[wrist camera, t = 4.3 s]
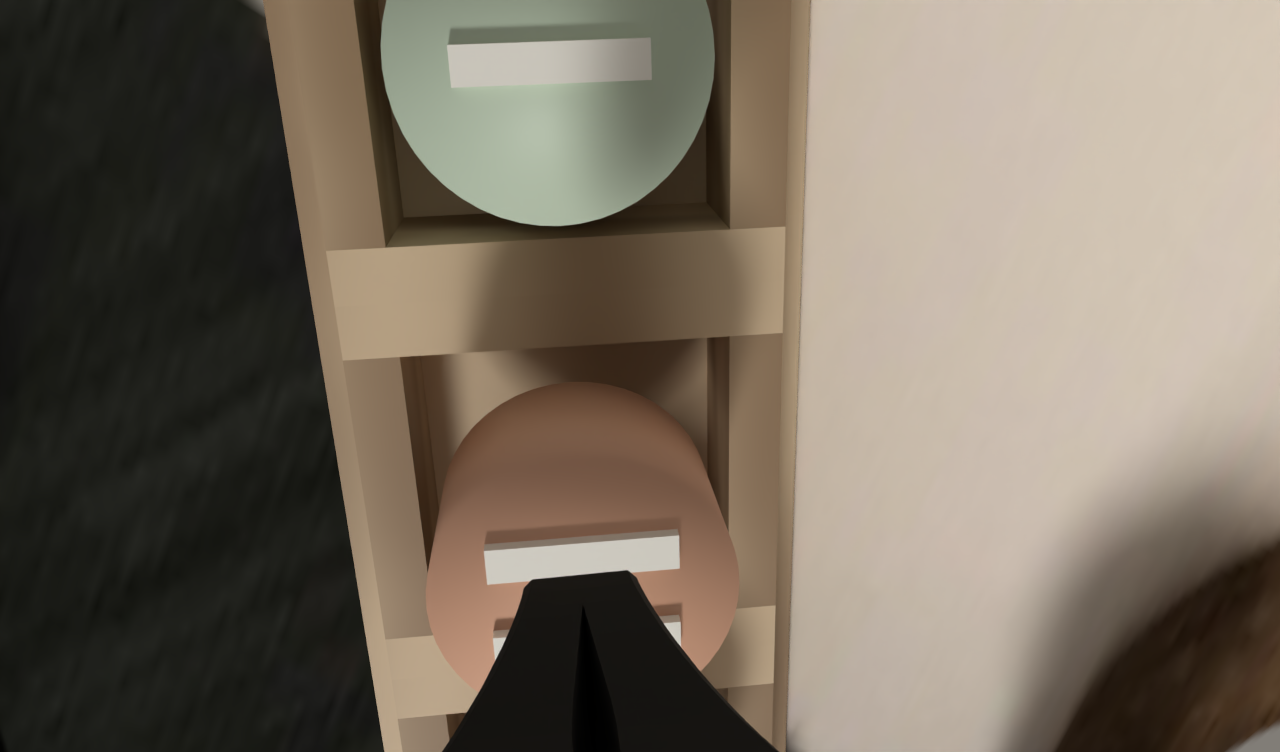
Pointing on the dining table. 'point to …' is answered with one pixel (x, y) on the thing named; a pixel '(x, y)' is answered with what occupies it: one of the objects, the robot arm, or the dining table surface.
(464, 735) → the robot arm
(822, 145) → the dining table surface
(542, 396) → the terracotta button
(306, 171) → the wooden compartment tray
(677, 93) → the sage button
